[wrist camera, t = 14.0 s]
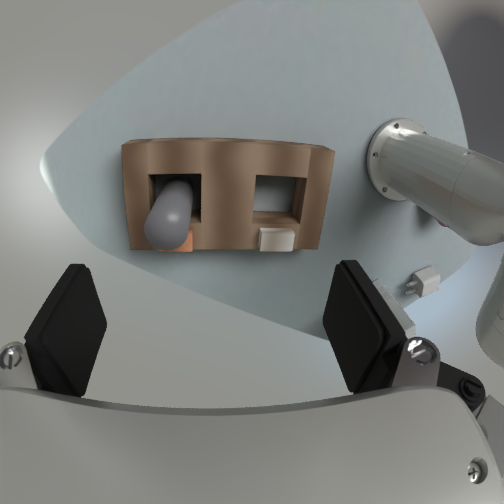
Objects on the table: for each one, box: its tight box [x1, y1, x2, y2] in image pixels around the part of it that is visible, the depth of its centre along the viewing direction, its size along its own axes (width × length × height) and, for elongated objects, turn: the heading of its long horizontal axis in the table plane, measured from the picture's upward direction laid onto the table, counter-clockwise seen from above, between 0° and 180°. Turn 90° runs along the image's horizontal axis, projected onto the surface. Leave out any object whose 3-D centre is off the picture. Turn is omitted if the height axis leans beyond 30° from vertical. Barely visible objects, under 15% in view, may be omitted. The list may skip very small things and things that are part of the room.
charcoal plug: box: [144, 177, 194, 250], centre depth 29 cm, size 4×4×12 cm
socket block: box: [121, 138, 335, 252], centre depth 33 cm, size 24×13×6 cm, turn 86°
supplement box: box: [372, 279, 415, 339], centre depth 44 cm, size 7×7×13 cm
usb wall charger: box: [406, 266, 440, 298], centre depth 47 cm, size 4×7×4 cm, turn 105°
